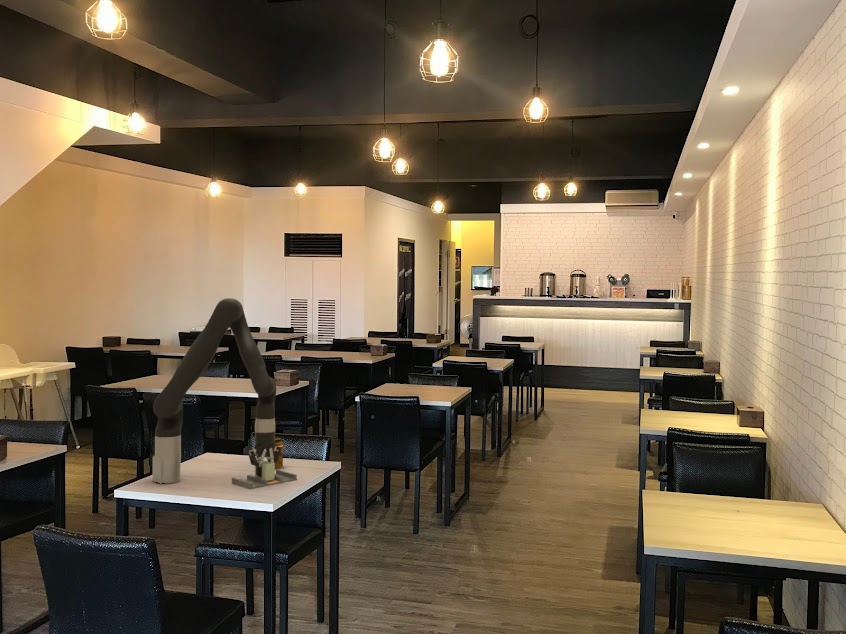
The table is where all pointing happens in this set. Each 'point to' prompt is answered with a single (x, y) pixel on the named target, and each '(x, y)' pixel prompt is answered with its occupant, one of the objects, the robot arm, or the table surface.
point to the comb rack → (259, 482)
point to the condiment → (280, 462)
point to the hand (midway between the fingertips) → (264, 475)
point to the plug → (267, 470)
